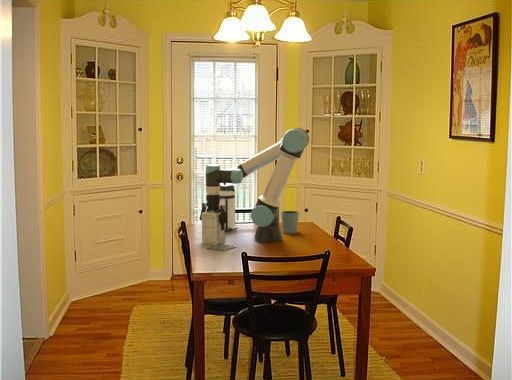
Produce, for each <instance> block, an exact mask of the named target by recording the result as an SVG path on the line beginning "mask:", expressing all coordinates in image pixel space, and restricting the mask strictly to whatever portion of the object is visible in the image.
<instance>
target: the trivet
mask: <svg viewBox="0 0 512 380" xmlns="http://www.w3.org/2000/svg"><path fill="white" fill-rule="evenodd" d="M236 248H237V245H232V244H226V243H225V244H224V243H221V244H217V245H211V246H206V249H207V250H213V251H217V252H218V251H220V252H226V251H229V250H230V251H231V250H233V249H236Z"/></svg>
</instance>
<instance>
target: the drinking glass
mask: <svg viewBox="0 0 512 380" xmlns="http://www.w3.org/2000/svg"><path fill="white" fill-rule="evenodd" d="M280 213H281V214H280V215H281V225H282V226H281V227H282V229H281V233H283V234H285V235H286V234H287V235H288V234H289V235H292V234H293V235H294V234H297V233H298V225H299V216H300V215H299V214H300V212H299V211H296V210H283V211H281V212H280Z"/></svg>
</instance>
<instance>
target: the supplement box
mask: <svg viewBox="0 0 512 380" xmlns="http://www.w3.org/2000/svg"><path fill="white" fill-rule="evenodd" d="M220 214H221V212H220V213H215V212H213V211H210V212H203V213H202V221H201V243H202V244H203V245H211V246H213V245H217V244H224V243H225V242H226V233H225V232H226V230H225V224H224V230H223V235H224V236H221V237H220V236H219V224H220V222H219V215H220Z"/></svg>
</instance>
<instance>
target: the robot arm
mask: <svg viewBox="0 0 512 380" xmlns="http://www.w3.org/2000/svg"><path fill="white" fill-rule="evenodd" d="M309 142H310V135H309V133H308V132H307V131H306V130H305V129H303V128H301V127H300V128H299V127H295V128H291V129H289V130H287V131H286V132H285V133H284V135H283V137H282V138H281V139H280V141H278V142H276V143H275V144H273V145H271V146H269V147H268V148H266V149H264V150H262V151H260V152H259V153H258V154H255V155H253V156H252V157H250V158H248V159H246V160H245V161H243V162H241V163H240V164H238V165H236V166H234V167H231V168H221V166H220V164H208V165H207V164H206V167H205V193H206V195H205V201H206V202H202V203H201V210H200V214H199V221H201V222H202V213H203V212H210V211H213V212H215V213H220V212H221V214H220V215H219V222H220V224H219V236H220V237H221V236H224V235H223V230H224V224H225V223H227V222H228V221H227V217H226V213H225V205H220V194H219V193H220V184H223V183H227V184H233V185H234V184H235V185H236V184H241V183H242V182H243V179H244V178H246V177H247V176H249V175H251V174H254V173H255V172H256V171H259V170H260V169H262V168H264V167H266V166H267V165H269V164H271V163H273V162H275V161H277V162H276V163H275V166H274V169H273V170H272V173H271V175H270V178H269V181H268V183H267V185H266V187H265V190H264V191H263V193H262V195H261V196H259V197H258V198H257V201H256V203H255V205H254V207H253V208H252V209H251V212H250V218H251V221H252V223H253V224H254V225H255V226H257V228H256V230H255V234H254V241H255V242H258V243H259V242H260V243H278V242H281V241H283V234H282V229H281V227H280V198H281V196H282V194H283V191H284V189H285V186H286V184H287V182H288V181H289V177H290V175H291V173H292V170H293V169H294V165H296V161H297V160H300V159H301V158H302V155H303V153H304V150H305V149H306V148H307V147H308V145H309ZM219 208H220V209H219ZM217 210H218V211H217Z"/></svg>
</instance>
